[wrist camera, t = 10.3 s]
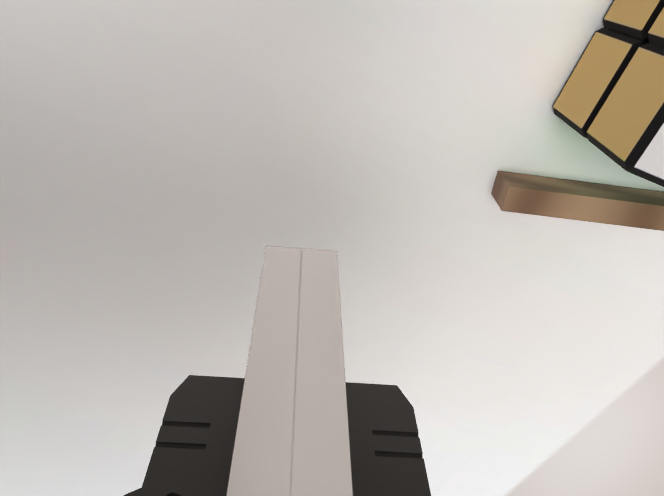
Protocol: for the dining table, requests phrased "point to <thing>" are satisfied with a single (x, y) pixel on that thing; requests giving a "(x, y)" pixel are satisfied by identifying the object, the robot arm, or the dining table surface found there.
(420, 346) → the dining table surface
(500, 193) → the frame
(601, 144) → the puzzle cube
